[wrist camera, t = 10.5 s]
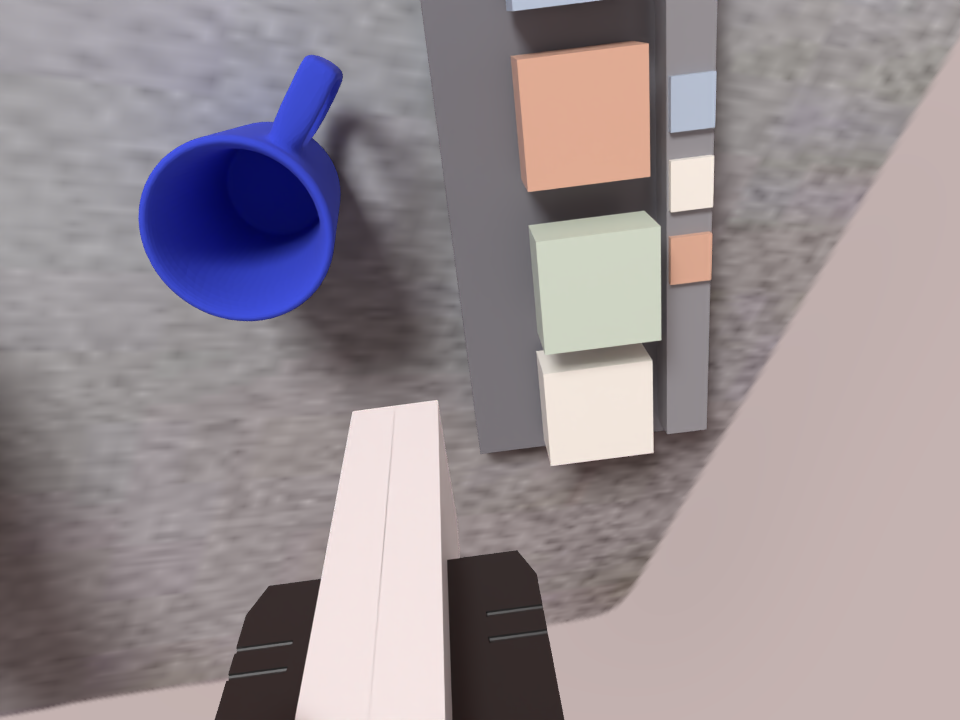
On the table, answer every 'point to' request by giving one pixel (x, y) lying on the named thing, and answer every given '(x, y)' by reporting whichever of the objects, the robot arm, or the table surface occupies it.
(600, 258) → the sage key
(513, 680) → the robot arm
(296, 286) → the mug
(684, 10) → the keypad
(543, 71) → the terracotta key
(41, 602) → the table surface
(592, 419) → the ivory key
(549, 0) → the blue key
